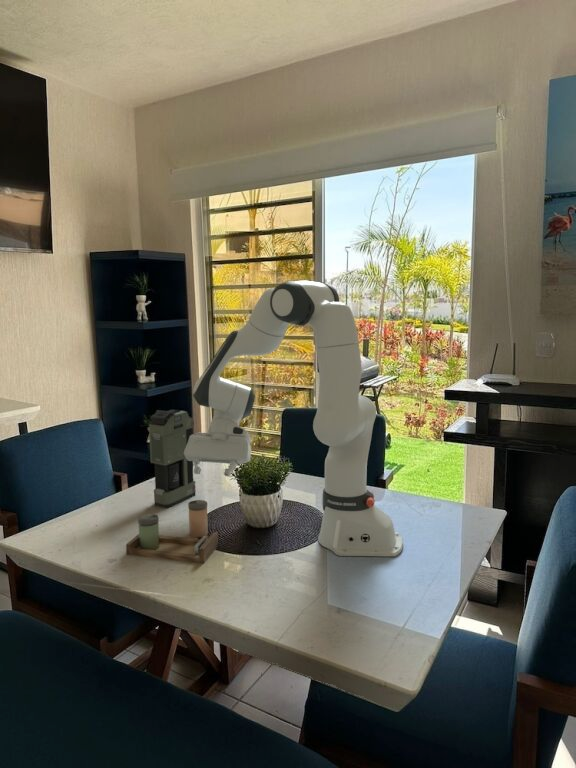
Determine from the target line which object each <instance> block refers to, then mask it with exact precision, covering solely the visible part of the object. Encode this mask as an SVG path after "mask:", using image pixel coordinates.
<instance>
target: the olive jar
mask: <svg viewBox="0 0 576 768" xmlns="http://www.w3.org/2000/svg"><path fill="white" fill-rule="evenodd" d="M159 521H160V517H159V515H157V514H144V515H141V516H139V517H138V519H137V523H138V534H139V544H140V549H148V550H157V549H158V548H159V535H160V529H159V528H160V527H159Z"/></svg>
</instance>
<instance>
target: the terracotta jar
mask: <svg viewBox="0 0 576 768" xmlns="http://www.w3.org/2000/svg"><path fill="white" fill-rule="evenodd" d="M187 506H188V507H187V508H188V526H189V528H188V530H189V536H190V537H192V538H202V537H203V536H204V535H205V536H208V534H209V533H208V532H209V530H208V502H207V501H206V500H203V499H197V500H196V499H195V500H192V501H189V502H188V504H187Z"/></svg>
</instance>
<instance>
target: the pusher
mask: <svg viewBox="0 0 576 768" xmlns="http://www.w3.org/2000/svg"><path fill="white" fill-rule="evenodd" d="M208 538H209V536H208V535H206V536H205V535H204V536H203V537H200V538H199V539H200V540H199V542H198V543H197V544H196V545H195V546H194V547H195V555H199V548H200V547H201V546H202V545H203V544H204V542H205V541H206V540H207V539H208Z"/></svg>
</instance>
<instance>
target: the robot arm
mask: <svg viewBox="0 0 576 768" xmlns="http://www.w3.org/2000/svg"><path fill="white" fill-rule="evenodd" d="M261 294H262V295H261V296H260V298H258V301H257V302H256V304H255V305H254V307H253V310H252V311H251V314H250V315H249V318H248V321H247V322H246V324H245V325H244V326H243V327H241V328H240V329H238V330H233V331H231V332H230V333H229V334H228V335H227V337H225V340H224V341H223V343H222V344H221V345H220V347H219V348H218V349H217V352H216V353H215V354H214V356H213V358H212V359H211V361H210V362H209V364H208V366H207V367H206V368H205V370H204V372H203V373H202V374H201V375H200V376H199V378H198V379H197V380H196V382H195V384H194V386H193V389H192V395H193V398H194V400H195V402H196V403H197V404H198V406H201V407H205V408H211V409H214V410H213V417H212V419H211V421H210V424H209V427H208V432H197V431H196V432H194V433H192V435H190V437H189V440H188V443H187V445H186V448H185V450H184V456H185V458H186V459H187V460H188V461H193V464H194V465H193V474H195V475H200V474H201V473H202V468H201V467H200V466H199V465H200V463H214V464H215V463H216V464H226V465H227V464H228V465H229V464H230V465H229V466H228V468H224V472H223V475H224V476H225V477H231V474H232V473H233V471H234V470H235V469H236V468H237V466H238V465H241V464H243V463H247V462H249V461H250V460H251V457H252V456H251V455H252V447H251V443H252V440H251V437H250V434H249V432H248V430H247V429H246V428H242V427H241V426H240V425H239V424H240V422H241V421H243V420H244V419H246V418H247V417H249V416H250V415H251V414H252V411H253V407H254V403H255V398H256V395H255V392H254V390H253V388H251V387H249V386H248V385H245V384H242V383H239V382H236V381H233V380H229V379H227V378H224V377H221V376H220V375H221V374H222V373H223V371H224V369H225V367H226V366H227V365H228V363H229V362H230V361H231V360H232V359H234V358H236V357H241V356H242V357H243V356H255V357H256V356H258V357H259V356H266V355H269V354H271V353H273V352H274V351H276V350H277V349H278V348H279V346H280V345H281V343H282V342H283V340H284V338H285V335H286V334H287V331H288V329H289V326H290V324H292V325H295V326H300V327H304V326H306V325H308V326H309V327H311V329H312V330H313V333H314V340H315V348H316V357H317V365H318V366H317V367H318V373H319V374H318V375H319V378H318V379H319V383H318V384H319V386H318V396H317V397H318V398H317V410H316V413H315V416H314V418H313V422H312V423H313V424H312V428H313V429H312V430H313V432H314V435H315V437H316V438H317V440H318V441H319V442H321V443H322V444H323V445H326V446H328V447H329V448H328V452H327V455H326V457H325V460H324V487H323V490H322V497H321V499H322V500H321V501H322V503H321V504H322V505H321V506H322V511H323V512H322V513H323V514H322V522H321V526H320V530H319V534H318V537H317V541H318V542H319V544H320V545H321V546H323V547H324V548H326V549H328V550H331V552H332V553H334V554H335V555H337V556H339V557H396V556H398V555H399V554H401V552H402V550H403V548H404V543H403V537H402V535H401V534H400V533H399V532H398V531H395V527H394V523H393V520H392V517H390V515H389V514H387V513H385V511H383V510H382V509H380V507H378V506H377V505H375V502H376V501H375V495H374V491H373V490H371V492H370V490H369V489H367V476H368V475H367V472H368V471H367V470H368V469H367V466H368V460H369V459H368V458H369V452H370V446H371V441H372V436H373V435H372V434H373V429H374V424H375V420H376V417H377V408H376V406H375V404H374V402H373V401H372V400H371V399H370V398H369V397H367V396H365V395H361V394H360V387H361V386H360V383H361V378H362V375H363V367H362V359H361V351H360V350H361V349H360V343H359V342H360V340H359V336H358V335H359V334H358V330H357V325H356V321H355V317H354V315H353V314H354V313H353V311H352V309H351V307H350V306H349V305H347V304H346V303H343V302H341V301H340V296H339V293H338V291H337V290H336V289H335V287H333V285H331V284H329V283H327V282H324V281H323V282H322V281H310V280H296V281H294V280H293V281H292V280H291V281H290V280H289V281H286V282H282V283H280V284H279V285H276V286H275V287H273V288H272V287H271V288H268V289H267V290H265V291H264V292H262V293H261ZM249 463H250V462H249Z"/></svg>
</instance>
